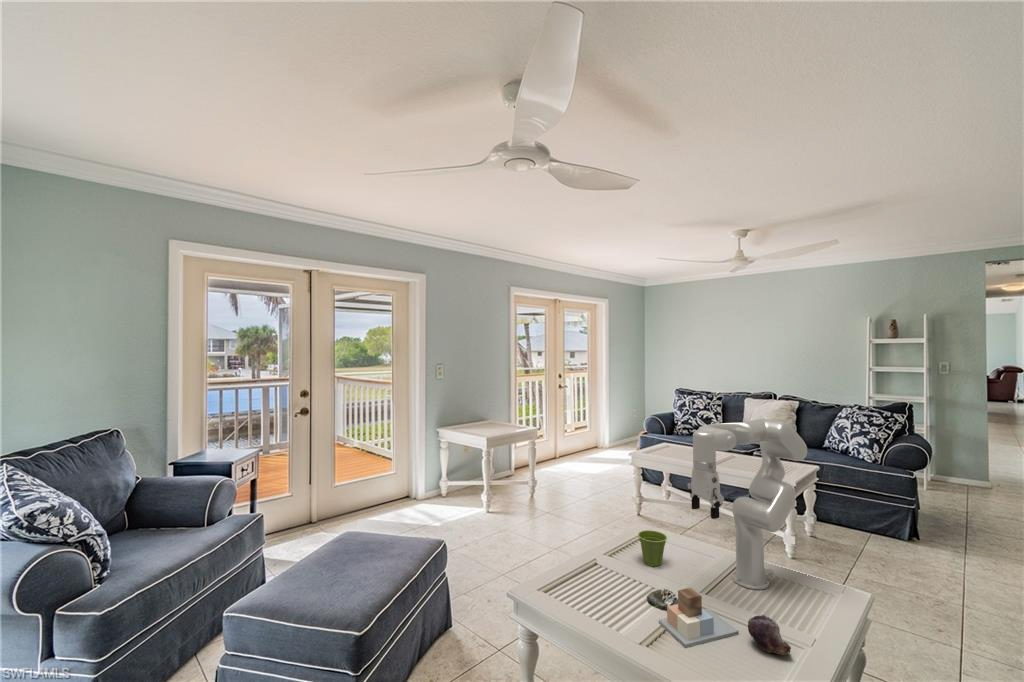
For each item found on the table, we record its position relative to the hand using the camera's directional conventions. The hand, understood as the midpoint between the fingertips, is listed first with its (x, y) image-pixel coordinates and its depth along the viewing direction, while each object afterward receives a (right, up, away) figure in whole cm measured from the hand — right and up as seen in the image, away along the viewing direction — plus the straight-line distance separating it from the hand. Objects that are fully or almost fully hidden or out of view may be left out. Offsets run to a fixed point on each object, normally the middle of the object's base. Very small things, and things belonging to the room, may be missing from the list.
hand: (705, 513), depth 164 cm
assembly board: (-10, -30, -18) cm, 36 cm away
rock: (+7, -30, -27) cm, 41 cm away
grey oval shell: (-16, -31, -2) cm, 35 cm away
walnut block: (-13, -24, -19) cm, 33 cm away
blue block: (-10, -29, -20) cm, 37 cm away
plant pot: (-11, -31, +27) cm, 42 cm away
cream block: (-14, -29, -22) cm, 39 cm away
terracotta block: (-16, -29, -17) cm, 37 cm away
